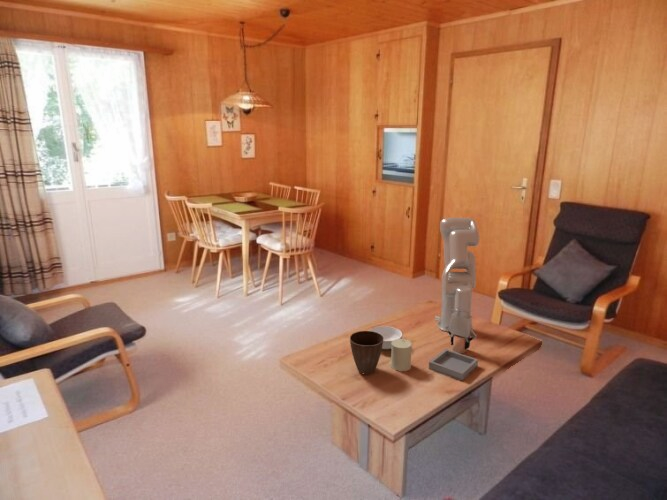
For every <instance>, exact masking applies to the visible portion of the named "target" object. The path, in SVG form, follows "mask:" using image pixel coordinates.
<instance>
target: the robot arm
mask: <svg viewBox="0 0 667 500" xmlns="http://www.w3.org/2000/svg"><path fill="white" fill-rule="evenodd" d="M439 230H440V235H441V237H442V241H443V262H444V268H443V271H442V274H441V280H440V281H441V291H442V292H441V293H442V295H441V309H440V310H441V313H440V314H441V316H439V315H435V316H434V321H435V322H438V323H437V328H438V329H439V330H441V331H443V332H447V333H448V334H449V337H450V345H451V346H453V340H454V334H455V335H458V336H462V337H465V339H466V342H465V350H466V349H470V347H471V341H473V340H475V339H476V338H477V337H478V335H477V334H476V333H475V330H473V318H472V315H471V312H472V297H473V289H474V288H475V287H476V283H477V276H476V275H477V274H476V273H477V272H476V271H477V270H476V269H477V268H476V266H477V265H476V264H477V263H476V256H475V254H474V253H473V252H472V251H468V247H477V246H478V245H479V243H480V233H479V229H478V227H477V223H476V220H475V219H473V218H471V217H446V218H443V219H441V220H440V221H439ZM451 270H465V271H451ZM466 351H467V350H466Z"/></svg>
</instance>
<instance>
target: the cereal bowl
mask: <svg viewBox="0 0 667 500" xmlns="http://www.w3.org/2000/svg"><path fill="white" fill-rule="evenodd" d="M368 331H372V332H376V333H379V334H381V335H382V336H383V338H384V339H383V345H382V350H391V348H392V344H391V342H392V341H393V340H396V339H403V333H402V330H400V329H398V328H396V327H393V326H388V325H380V326H379V325H377V326H374V327H372V328H370V329H369V330H368Z"/></svg>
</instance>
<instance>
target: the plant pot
mask: <svg viewBox="0 0 667 500" xmlns="http://www.w3.org/2000/svg"><path fill="white" fill-rule="evenodd" d="M383 339H384V338H383V336H382V335H381V334H379V333H376V332H372V331H369V330H359V331H357V332H356V331H355V332H353V333H352V334H351V335H349V342H350V343H349V344H350V348H351V349H350V350H351V354H352V357H353V358H352V359H353V361H354V363H355V366H356V369H357V371H358V373H360V372H361V373H364V374H363V375H366V374H368V375H372V374H374V373H375V371H376V369H377V367H378V363H379V361H380V358H381V354H382V350H383V349H382V345H383ZM373 372H374V373H373ZM361 373H360V374H361ZM371 373H372V374H371Z"/></svg>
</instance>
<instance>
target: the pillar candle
mask: <svg viewBox="0 0 667 500" xmlns="http://www.w3.org/2000/svg"><path fill="white" fill-rule="evenodd" d="M391 344H392V348H391V349H390V350H391V353H390V354H391V355H390V357H391V358H390V367H392V368H393V369H392V368H391V369H392V370H394V369H395V370H394V371H396V370H398V371H397V372H407V371H410V370H411V367H412V365H411V364H412V341H410V340H408V339H405V338H402V339H396V340H393V341H392V342H391ZM406 370H407V371H406Z"/></svg>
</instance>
